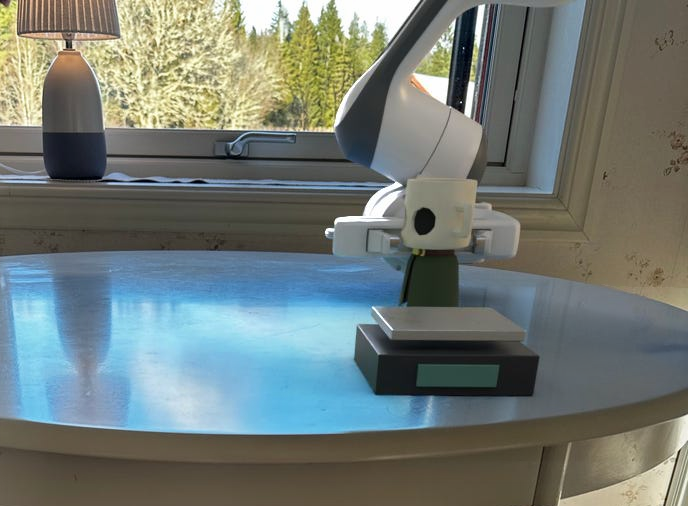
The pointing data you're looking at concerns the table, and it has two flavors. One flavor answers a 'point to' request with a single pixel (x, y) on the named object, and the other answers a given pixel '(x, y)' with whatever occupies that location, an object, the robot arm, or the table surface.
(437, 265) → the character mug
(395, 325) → the scale pan
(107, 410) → the table surface
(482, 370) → the scale
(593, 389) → the table surface
